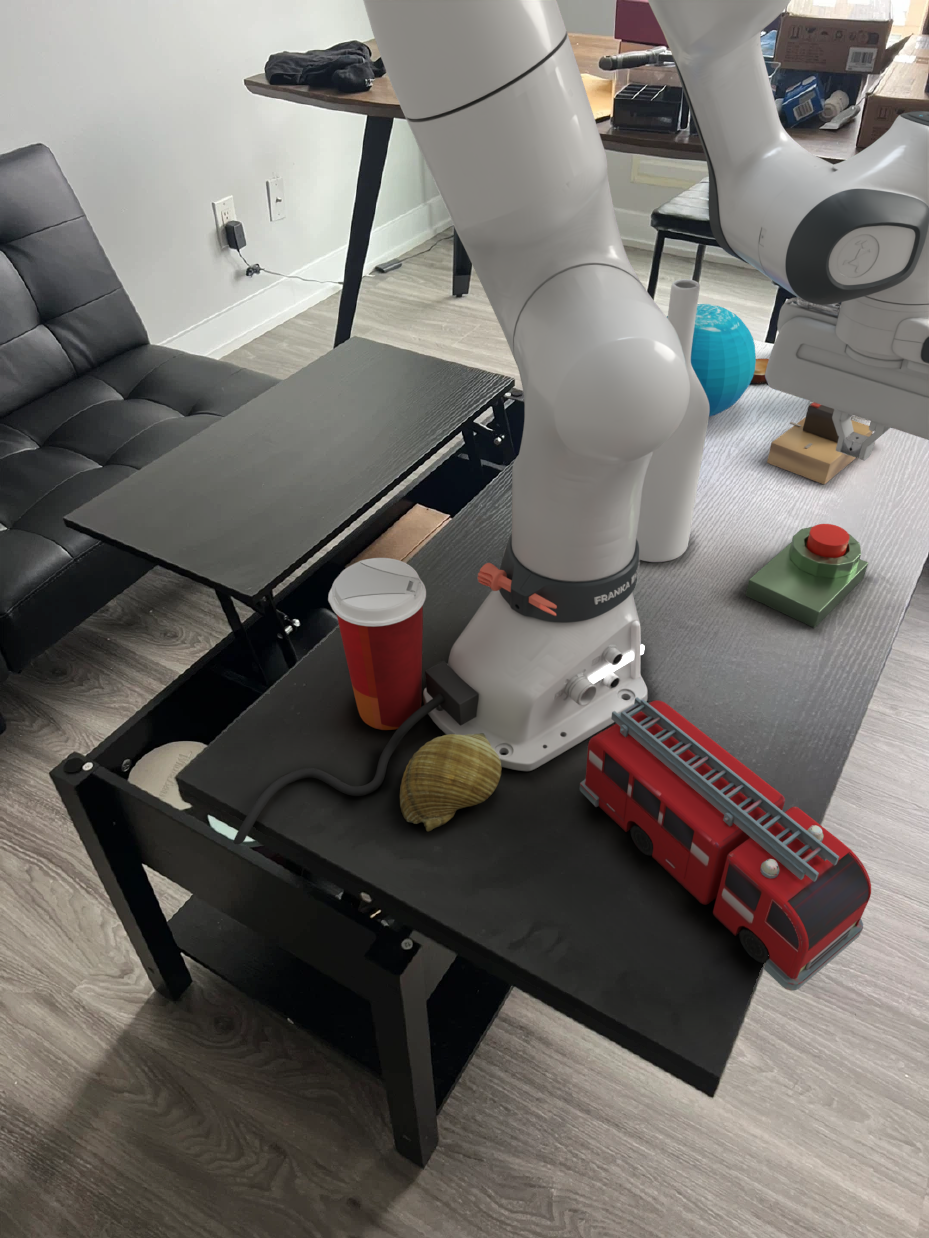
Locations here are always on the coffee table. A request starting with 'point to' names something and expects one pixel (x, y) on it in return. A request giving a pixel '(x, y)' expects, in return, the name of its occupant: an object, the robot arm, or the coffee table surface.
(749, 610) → the coffee table surface
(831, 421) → the knob
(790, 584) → the green lamp base
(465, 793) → the seashell
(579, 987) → the coffee table surface
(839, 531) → the lamp button
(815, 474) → the panel
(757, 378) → the wooden boat shaped bowl
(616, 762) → the toy
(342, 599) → the coffee cup
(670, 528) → the bottle
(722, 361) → the decorative orb
